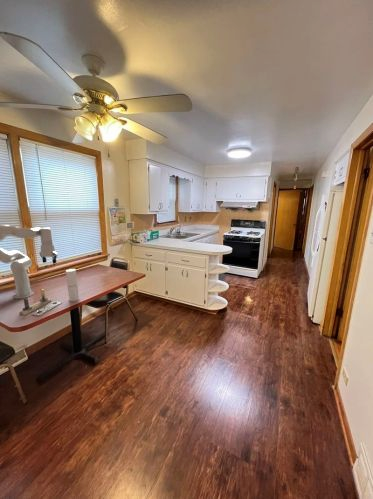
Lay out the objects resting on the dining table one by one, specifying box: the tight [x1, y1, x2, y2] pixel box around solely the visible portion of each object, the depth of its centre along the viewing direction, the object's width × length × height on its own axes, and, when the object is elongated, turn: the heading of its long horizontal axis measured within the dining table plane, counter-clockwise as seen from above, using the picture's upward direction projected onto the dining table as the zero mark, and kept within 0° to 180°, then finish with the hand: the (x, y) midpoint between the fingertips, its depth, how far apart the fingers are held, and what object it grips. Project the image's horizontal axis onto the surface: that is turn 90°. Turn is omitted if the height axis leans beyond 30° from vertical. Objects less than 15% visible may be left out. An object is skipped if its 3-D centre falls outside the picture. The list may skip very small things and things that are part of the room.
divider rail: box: [18, 297, 52, 316], centre depth 157 cm, size 5×22×10 cm, turn 169°
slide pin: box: [39, 288, 49, 301], centre depth 163 cm, size 5×3×9 cm, turn 79°
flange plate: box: [31, 300, 63, 317], centre depth 156 cm, size 7×20×1 cm, turn 169°
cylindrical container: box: [65, 268, 80, 302], centre depth 169 cm, size 7×7×25 cm
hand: (49, 262), depth 175 cm, fingers open, 9 cm apart
